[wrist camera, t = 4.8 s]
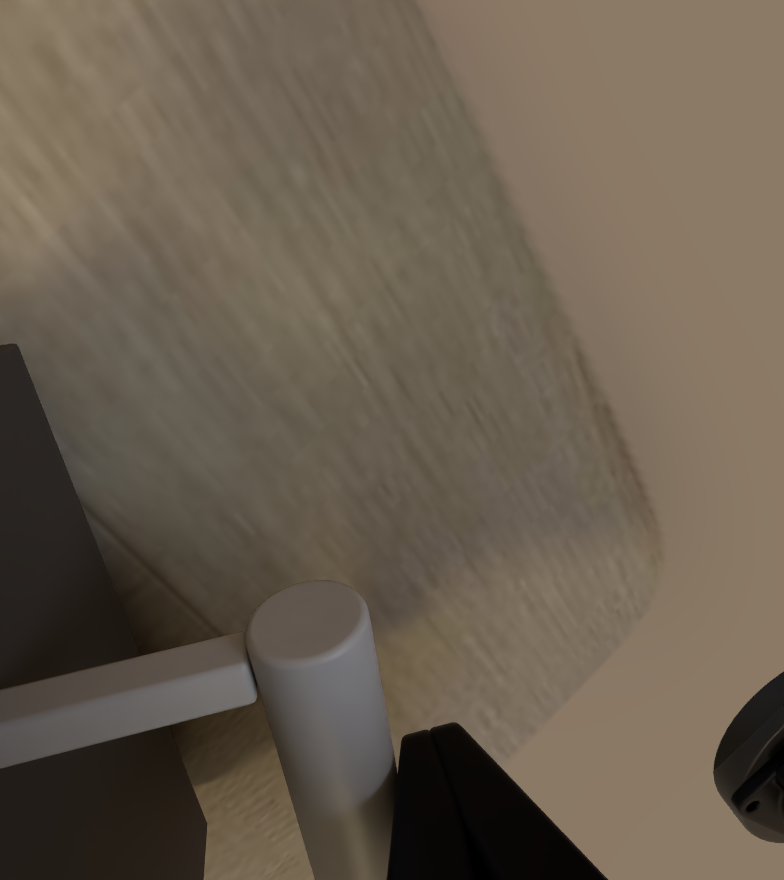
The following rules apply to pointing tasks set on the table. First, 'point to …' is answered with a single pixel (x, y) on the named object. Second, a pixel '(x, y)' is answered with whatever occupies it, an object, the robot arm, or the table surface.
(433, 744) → the robot arm
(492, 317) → the table surface
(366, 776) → the drawer
